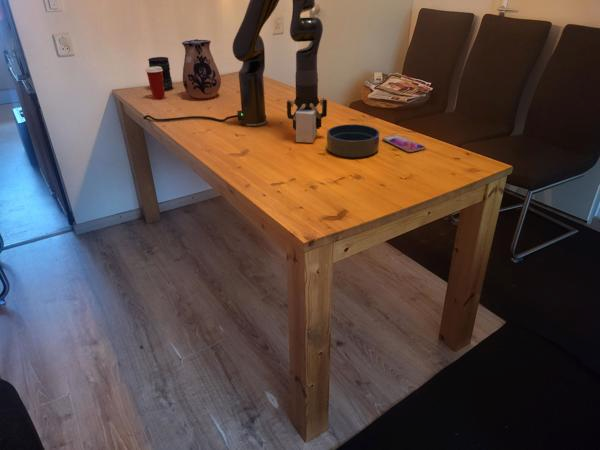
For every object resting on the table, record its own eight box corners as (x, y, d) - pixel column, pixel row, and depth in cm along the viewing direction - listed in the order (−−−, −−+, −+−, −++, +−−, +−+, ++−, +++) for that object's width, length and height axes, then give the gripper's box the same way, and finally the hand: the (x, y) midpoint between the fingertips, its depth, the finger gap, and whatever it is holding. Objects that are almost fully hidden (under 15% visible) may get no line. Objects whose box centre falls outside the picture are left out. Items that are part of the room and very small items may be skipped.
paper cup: (170, 97, 218) (165, 67, 211) (158, 100, 212) (153, 70, 205) (159, 95, 221) (154, 65, 214) (147, 98, 216) (141, 68, 209)
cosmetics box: (313, 143, 157) (313, 113, 152) (295, 142, 158) (294, 112, 153) (318, 133, 166) (317, 104, 161) (300, 132, 167) (300, 104, 162)
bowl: (332, 160, 144) (333, 143, 141) (322, 142, 159) (322, 126, 156) (384, 157, 146) (386, 139, 143) (370, 139, 161) (371, 122, 158)
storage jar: (155, 87, 236) (149, 57, 228) (174, 86, 237) (169, 56, 229) (151, 91, 227) (146, 60, 220) (171, 91, 228) (166, 60, 221)
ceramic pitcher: (189, 103, 207) (181, 45, 194) (180, 93, 224) (172, 39, 211) (226, 98, 213) (221, 42, 200) (215, 89, 230) (209, 36, 217)
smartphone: (397, 134, 162) (426, 147, 150) (397, 136, 162) (425, 149, 151) (381, 137, 159) (409, 150, 147) (381, 139, 159) (408, 153, 148)
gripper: (325, 78, 157) (324, 124, 165) (284, 80, 155) (285, 127, 163) (329, 83, 150) (328, 131, 158) (286, 85, 149) (288, 133, 157)
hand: (307, 129), depth 161 cm, fingers closed on cosmetics box, 7 cm apart
